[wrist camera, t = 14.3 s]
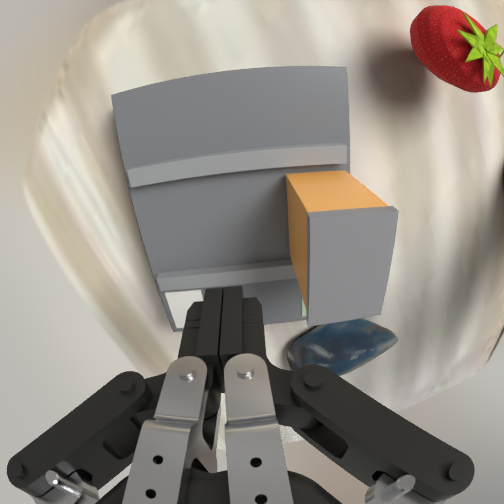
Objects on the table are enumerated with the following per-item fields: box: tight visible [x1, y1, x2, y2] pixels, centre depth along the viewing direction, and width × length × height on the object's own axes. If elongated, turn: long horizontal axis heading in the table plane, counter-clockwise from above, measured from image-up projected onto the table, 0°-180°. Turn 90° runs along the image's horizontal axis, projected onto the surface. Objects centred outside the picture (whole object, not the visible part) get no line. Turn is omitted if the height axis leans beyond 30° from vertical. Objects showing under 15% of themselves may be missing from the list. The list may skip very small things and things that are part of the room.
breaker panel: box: [111, 66, 350, 332], centre depth 21 cm, size 15×20×4 cm
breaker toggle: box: [286, 170, 398, 326], centre depth 17 cm, size 4×6×7 cm
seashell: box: [287, 318, 398, 376], centre depth 29 cm, size 6×9×10 cm
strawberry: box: [410, 5, 504, 92], centre depth 12 cm, size 6×8×10 cm
